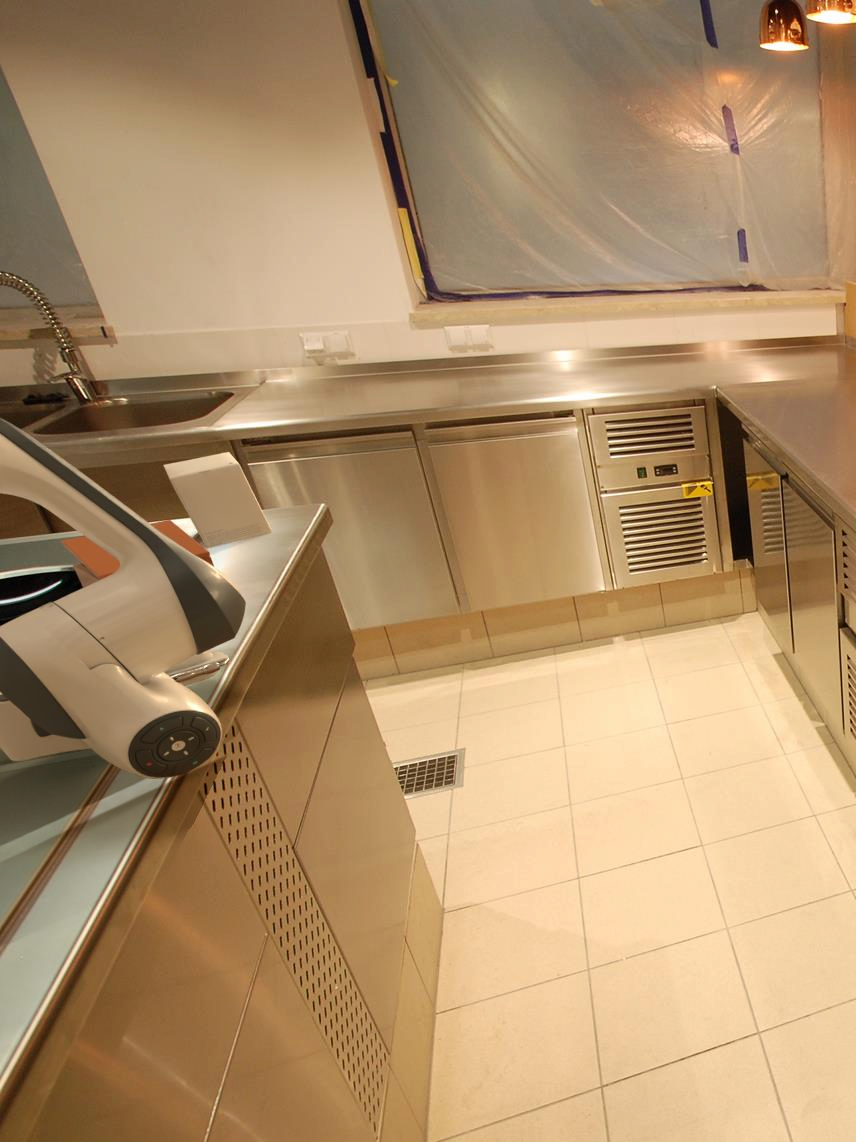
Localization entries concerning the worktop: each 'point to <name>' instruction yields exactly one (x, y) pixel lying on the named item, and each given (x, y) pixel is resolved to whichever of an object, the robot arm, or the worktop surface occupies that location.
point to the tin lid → (107, 564)
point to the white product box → (218, 499)
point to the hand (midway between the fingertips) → (69, 664)
